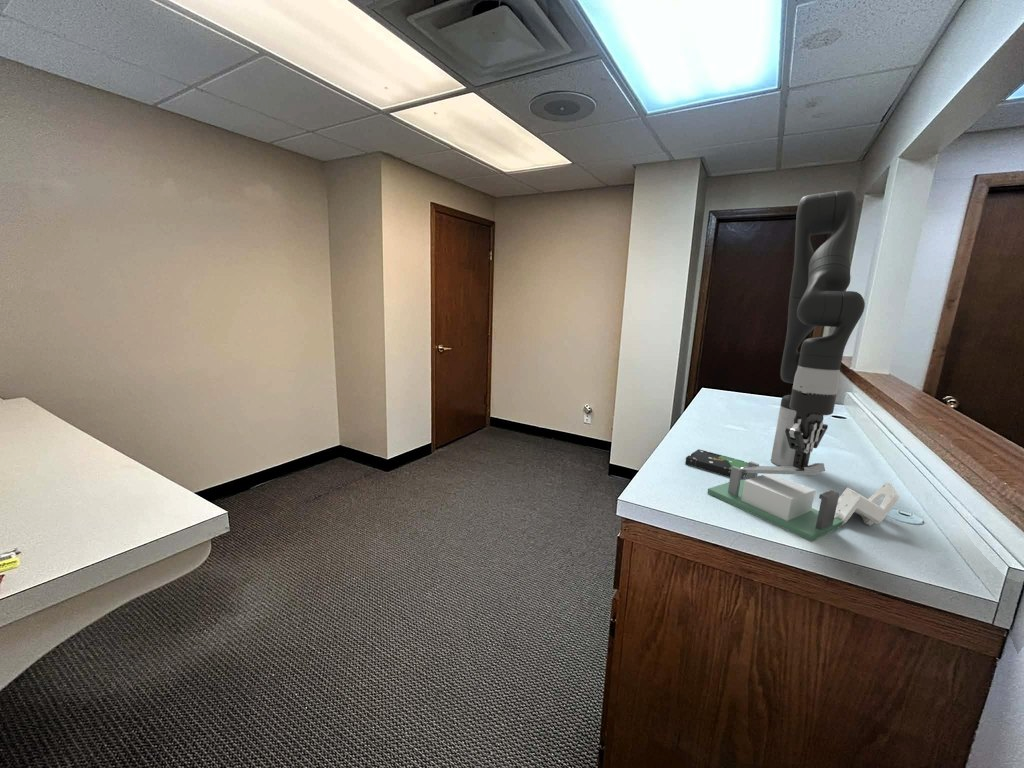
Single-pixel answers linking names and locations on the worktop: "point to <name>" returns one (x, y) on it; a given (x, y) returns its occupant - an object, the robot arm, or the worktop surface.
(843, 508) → the mounting bracket
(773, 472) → the strap
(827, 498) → the post
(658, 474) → the worktop surface
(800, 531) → the board
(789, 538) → the worktop surface
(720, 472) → the disk drive
